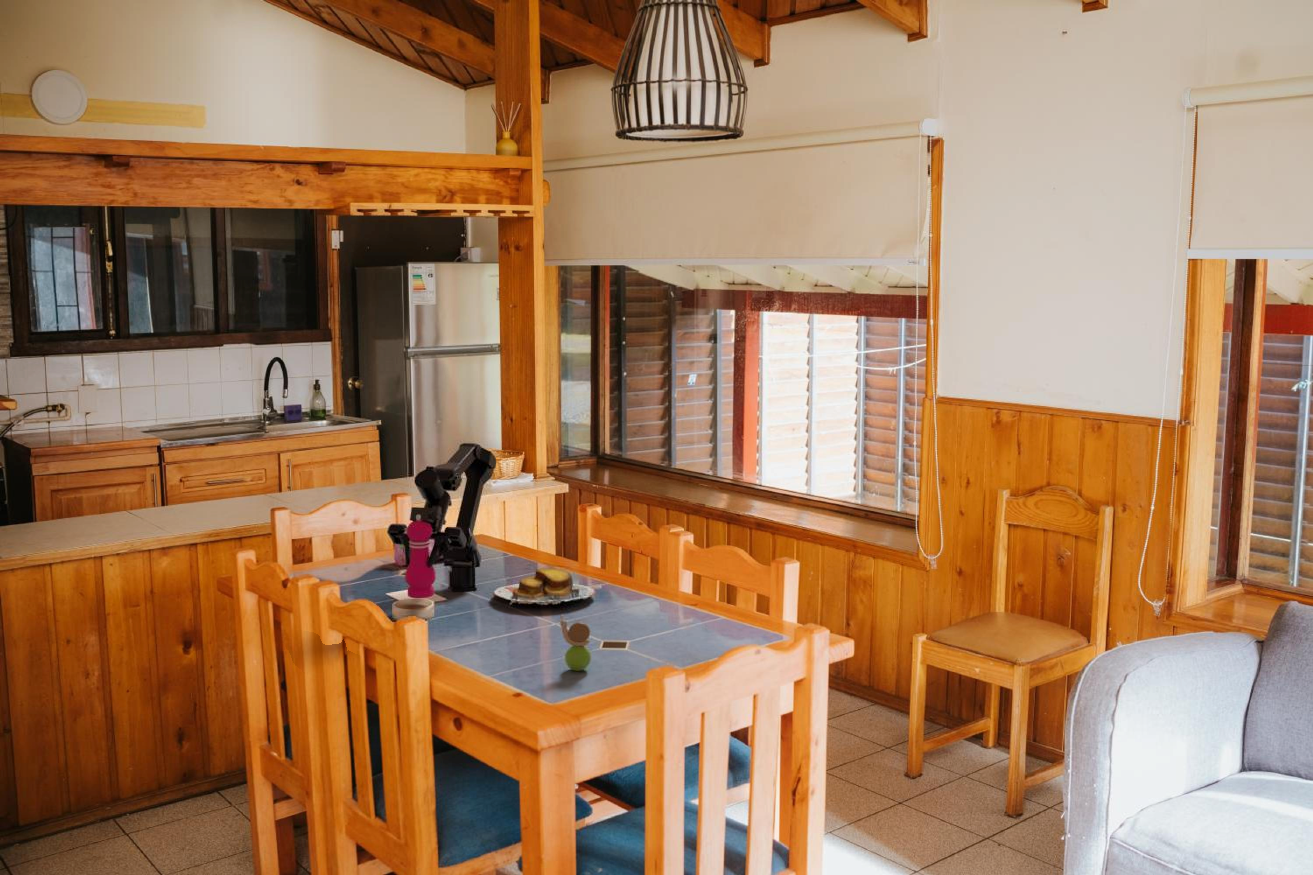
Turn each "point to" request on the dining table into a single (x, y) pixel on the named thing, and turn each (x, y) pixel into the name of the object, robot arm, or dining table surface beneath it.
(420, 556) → the pepper mill
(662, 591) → the dining table surface
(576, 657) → the snail figurine
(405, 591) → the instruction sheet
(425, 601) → the round bowl
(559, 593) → the food on plate
